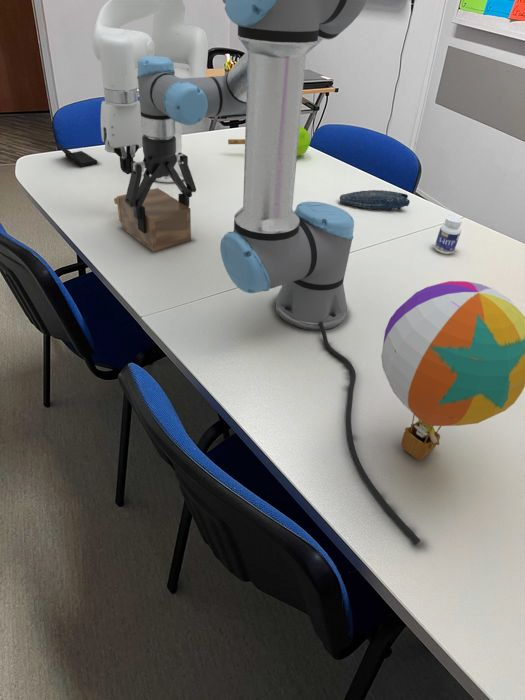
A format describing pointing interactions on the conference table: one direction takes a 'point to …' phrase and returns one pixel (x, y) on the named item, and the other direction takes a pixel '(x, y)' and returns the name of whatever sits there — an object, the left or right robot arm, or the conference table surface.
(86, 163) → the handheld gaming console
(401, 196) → the fish model
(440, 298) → the toy
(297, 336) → the conference table surface
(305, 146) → the decorative tree
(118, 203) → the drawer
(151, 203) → the wooden grain block
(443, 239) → the pill bottle
